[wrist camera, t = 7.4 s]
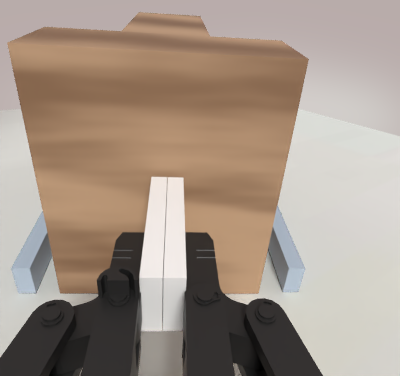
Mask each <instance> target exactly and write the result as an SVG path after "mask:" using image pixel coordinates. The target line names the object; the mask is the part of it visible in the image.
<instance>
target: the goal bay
mask: <svg viewBox="0 0 400 376" xmlns="http://www.w3.org/2000/svg"><path fill="white" fill-rule="evenodd" d="M268 249H269V252H270V255H271V258H272V261H273V264H274V267H275V270H276V273H277V276H278V279H279V282H280V285H281V288H282V291H283V292H298V291H299V288H300V284H301V281H302V278H303V274H304V271H305V267H304V265H303V262H302V260H301V258H300V256H299V253H298V251H297V249H296V246H295V244H294V242H293V240H292V237H291V235H290V233H289V230H288V228H287V226H286V224H285V221H284V219H283V217H282V214H281V212H280V210H279V208H278V205H277V209H276V214H275V218H274V223H273V228H272V232H271V237H270V242H269V246H268ZM51 257H52V252H51V247H50V242H49V237H48V233H47V228H46V223H45V219H44V214H43V211H42V213H41V215H40V216H39V218H38V220H37V222H36V224H35V226H34V227H33V229H32V231H31V233H30V235H29V237H28V238H27V240H26V242H25V244H24V246H23V248H22V249H21V251H20V253H19V255H18V257H17V259H16V260H15V262H14V264H13V266H12V268H11V270H12V273H13V276H14V280H15V283H16V286H17V290H18V293H36V292H37V290H38V287H39V285H40V283H41V280H42V278H43V276H44V273H45V271H46V269H47V266H48V264H49V262H50V259H51Z"/></svg>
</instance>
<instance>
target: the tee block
mask: <svg viewBox="0 0 400 376" xmlns="http://www.w3.org/2000/svg"><path fill="white" fill-rule="evenodd" d="M8 48H9V53H10V58H11V62H12V66H13V72H14V77H15V81H16V86H17V91H18V96H19V100H20V105H21V110H22V114H23V119H24V124H25V129H26V133H27V138H28V143H29V148H30V152H31V157H32V162H33V166H34V171H35V176H36V181H37V185H38V190H39V195H40V200H41V204H42V209H43V214H44V219H45V223H46V228H47V233H48V237H49V242H50V247H51V252H52V256H53V261H54V266H55V271H56V275H57V280H58V285H59V290H60V293H98V287H97V279H98V277H99V275H100V274H101V273H102V272H103V271H104V270H106V269H108V268H110V264H111V260H112V255H113V251H114V246H115V242H116V239H117V238H118V237H119V236H120V235H121V234H122V232H145V226H146V218H147V210H148V201H149V193H150V185H151V177H167V183H168V177H182V178H183V181H184V212H185V232H207V233H208V234H209V235H210V237H211V238H212V239H213V242H214V249H215V250H214V251H215V258H216V264H217V271H218V279H219V285H220V289H221V290H222V292H223V293H259V288H260V283H261V279H262V274H263V269H264V265H265V260H266V256H267V251H268V246H269V242H270V237H271V232H272V228H273V223H274V218H275V214H276V209H277V204H278V200H279V195H280V190H281V186H282V181H283V176H284V172H285V167H286V162H287V158H288V153H289V148H290V144H291V139H292V135H293V130H294V125H295V121H296V116H297V111H298V106H299V102H300V97H301V92H302V87H303V83H304V78H305V74H306V69H307V64H308V60H309V59H308V58H306V57H305V56H303V55H302V54H300V53H299V52H297V51H296V50H294V49H293V48H291V47H290V46H288V45H287V44H285V43H284V42H283V41H277V40H260V39H243V38H226V37H210V35H209V34H208V31H207V29H206V27H205V25H204V23H203V21H202V19H201V17H200V16H189V15H174V14H157V13H142V12H139V13H138V14H137V15H136V16H135V17H134V18H133V19H132V20H131V22H130V23H129V24H128V25H127V26H126V27H125V28H124V29H123V30H122V31H105V30H88V29H72V28H55V27H54V28H53V27H43V28H41V29H39V30H36V31H34V32H32V33H29V34H27V35H25V36H22V37H20V38H18V39H15V40H13V41H10V42H8Z"/></svg>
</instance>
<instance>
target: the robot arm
mask: <svg viewBox="0 0 400 376" xmlns="http://www.w3.org/2000/svg"><path fill="white" fill-rule="evenodd" d="M214 250H215V249H214V242H213V239H212V238H211V237H210V235H209V234H208V233H207V232H185V212H184V181H183V178H182V177H168V183H167V177H151V185H150V193H149V201H148V210H147V218H146V226H145V232H122V234H121V235H120V236H119V237H118V238H117V239H116V242H115V246H114V251H113V255H112V260H111V264H110V268H108V269H106V270H104V271H103V272H102V273H101V274H100V275H99V277H98V279H97V287H98V295H99V296H98V297H97V298H95V299H94V300H92V301H90V302H87V303H84V304H80V305H77V306H72V305H71V304H70V303H69V302H66V301H64V300H52V301H49V302H46V303H44V304H42V305H40V306H39V307H38V308H37V309H36V310H35V311H34V312H33V313H32V314H31V316H30V317H29V318H28V320H27V321H26V323H25V324H24V325H23V327H22V328H21V330H20V331H19V332H18V334H17V335H16V337H15V338H14V339H13V341H12V342H11V344H10V345H9V346H8V348H7V349H6V350H5V352H4V353H3V355H2V356H1V357H0V376H79V374H80V372H81V370H82V373H81V376H138V371H139V360H140V349H141V339H140V336H141V331H162V323H163V331H183V349H182V358H183V376H235V374H234V367H233V363H236V364H237V365H238V368H239V370H240V373H241V375H242V376H323V375H322V374H321V372H320V370H319V369H318V367H317V365H316V364H315V362H314V360H313V358H312V357H311V355H310V353H309V352H308V350H307V348H306V347H305V345H304V343H303V342H302V340H301V338H300V337H299V335H298V333H297V332H296V330H295V328H294V327H293V325H292V323H291V322H290V320H289V318H288V317H287V315H286V313H285V312H284V310H283V309H282V308H281V307H280V306H279V304H277V303H275V302H274V301H272V300H268V299H265V298H264V299H256V300H253V301H251V302H250V303H249V304H248V305H246V304H243V303H239V302H236V301H234V300H231V299H230V298H228V297H227V296H226V295H225V294H224V293H223V292H222V290H221V289H220V285H219V279H218V271H217V264H216V258H215V251H214ZM82 367H83V369H82Z"/></svg>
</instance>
